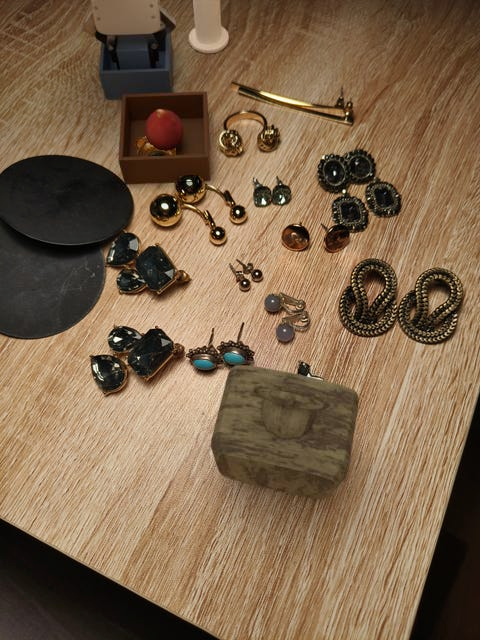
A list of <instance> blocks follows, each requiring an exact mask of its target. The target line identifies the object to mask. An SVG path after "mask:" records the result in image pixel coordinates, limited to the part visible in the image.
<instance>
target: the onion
mask: <svg viewBox="0 0 480 640" xmlns="http://www.w3.org/2000/svg"><path fill="white" fill-rule="evenodd" d="M145 134H146V137H147V139H148V142H149V143H150V144H151V145H153V146H154V147H155V148H157V149H159V150H165V151H167V150H172V149H174V148H176V147H177V146H178V145H179V144H180V142H181V141H182V138H183V134H184V129H183V125H182V122H181V120H180V118H179V117H178V116H177V115H176V114H174V113H173V112H172V111H169V110H165V109H158V110H156V111H155V112H154V113H152V114H151V115H150V117H149V118H148V119H147V121H146V125H145Z"/></svg>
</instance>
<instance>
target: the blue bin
mask: <svg viewBox="0 0 480 640" xmlns="http://www.w3.org/2000/svg"><path fill="white" fill-rule="evenodd" d="M163 24H164V23H160V25H163ZM171 33H172V32H170V33H169V34H167V35H166V37H165V38H164V39H163V40H162V41H161V42H160V43H159V44H158V51H159V61H156V69H133V70H117V65H116V63H113V62H112V57H111V53H110V50H108V49H107V47H106V45H105V44H103V43H102V42H100V51H99V63H98V64H99V65H98V77H99V80H100V84H101V88H102V91H103V95H104V98H105V100H106V101H107V100H122V95H123V94H149V93H173V85H174V84H173V82H174V81H173V79H174V77H173V74H174V72H173V71H174V67H173V66H174V51H173V41H172V34H171ZM115 37H116V38H117V35H115Z"/></svg>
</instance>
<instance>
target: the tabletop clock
mask: <svg viewBox="0 0 480 640" xmlns="http://www.w3.org/2000/svg"><path fill="white" fill-rule="evenodd" d="M359 404H360V398H359V395H358V392H357V391H356V390H355V389H354V388H353V389H352V388H351V387H347V386H345V385H342V384H339V383H336V382H332V381H327V380H323V379H320V378H315V377H311V376H308V375H307V376H306V375H302V374H299V373H294V372H289V371H283V370H278V369H272V368H267V367H262V366H256V365H255V366H254V365H243V364H235V365H234V366H232V367H231V368H230V369H229V371H228V373H227V376H226V381H225V385H224V389H223V392H222V397H221V401H220V404H219V407H218V412H217V416H216V420H215V424H214V428H213V431H212V434H211V435H212V436H211V439H210V440H211V441H210V449H211V451H212V455H213V458H214V462H215V465H216V468H217V470H218V472H219V473H220V475H221V476H223V477H225V478H226V479H229V480H232V481H235V482H238V483H243V484H247V485H251V486H256V487H259V488H262V489H263V488H264V489H268V490H272V491H276V492H281V493H286V494H288V495H289V494H290V495H294V496H299V497H304V498H308V499H315V500H324V499H327V498H328V497H330V496H331V495H332V494H333V493H334V492H335V491H336V490H337V489H338V487H339V486H340V485H341V484H342V483H343V481H344V480H345V479H346V478H347V476H348V474H349V469H350V463H351V456H352V451H353V444H354V439H355V438H354V437H355V430H356V423H357V418H358V417H357V416H358V411H359Z"/></svg>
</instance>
